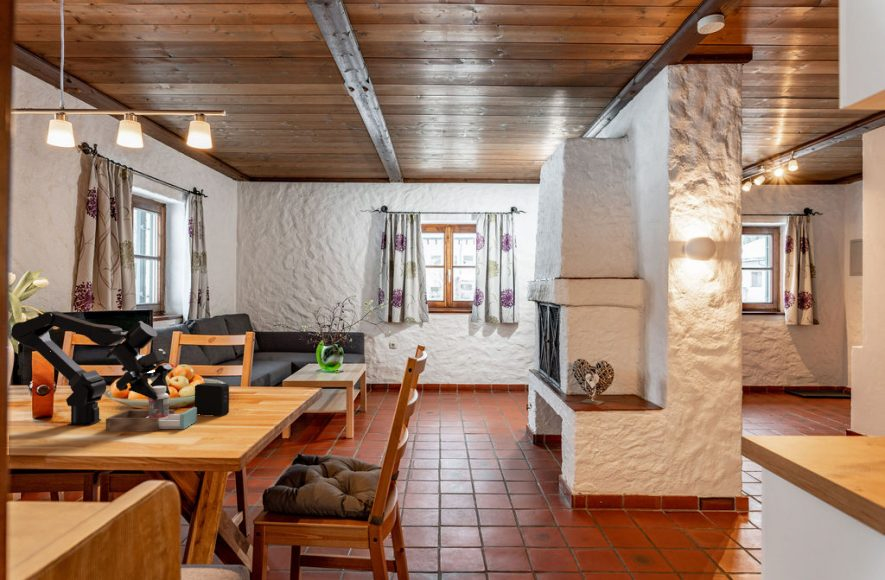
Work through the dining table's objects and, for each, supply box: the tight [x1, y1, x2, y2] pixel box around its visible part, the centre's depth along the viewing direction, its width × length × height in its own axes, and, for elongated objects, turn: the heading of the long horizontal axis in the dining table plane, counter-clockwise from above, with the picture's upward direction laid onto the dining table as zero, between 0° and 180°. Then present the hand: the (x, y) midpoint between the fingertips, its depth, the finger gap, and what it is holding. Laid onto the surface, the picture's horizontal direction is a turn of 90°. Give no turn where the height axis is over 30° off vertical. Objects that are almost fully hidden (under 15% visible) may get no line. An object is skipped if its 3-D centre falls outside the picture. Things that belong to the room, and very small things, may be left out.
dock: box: [105, 409, 175, 432], centre depth 166 cm, size 14×12×4 cm
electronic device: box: [194, 382, 230, 417], centre depth 181 cm, size 4×10×10 cm, turn 78°
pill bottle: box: [148, 386, 170, 420], centre depth 166 cm, size 5×5×10 cm
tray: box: [146, 406, 198, 430], centre depth 166 cm, size 13×9×4 cm
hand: (162, 397), depth 166 cm, fingers closed on pill bottle, 5 cm apart
